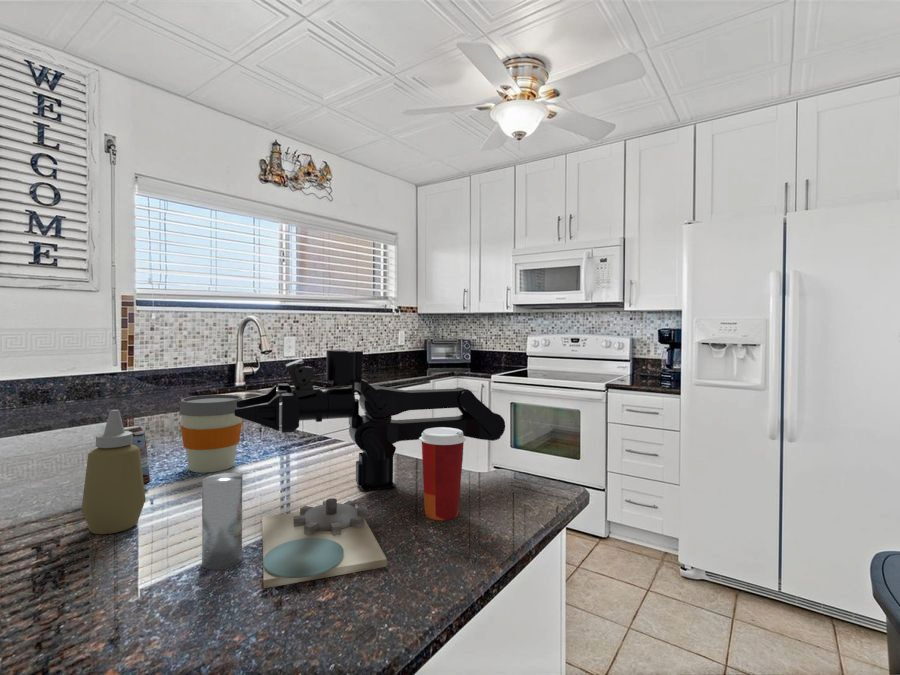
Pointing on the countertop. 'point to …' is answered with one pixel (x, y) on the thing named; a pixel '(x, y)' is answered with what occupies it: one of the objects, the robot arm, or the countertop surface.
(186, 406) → the reusable coffee cup
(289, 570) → the board
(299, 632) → the countertop surface
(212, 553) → the axle
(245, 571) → the countertop surface
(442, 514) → the paper cup
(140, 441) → the beverage can
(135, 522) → the squeeze bottle
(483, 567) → the countertop surface
